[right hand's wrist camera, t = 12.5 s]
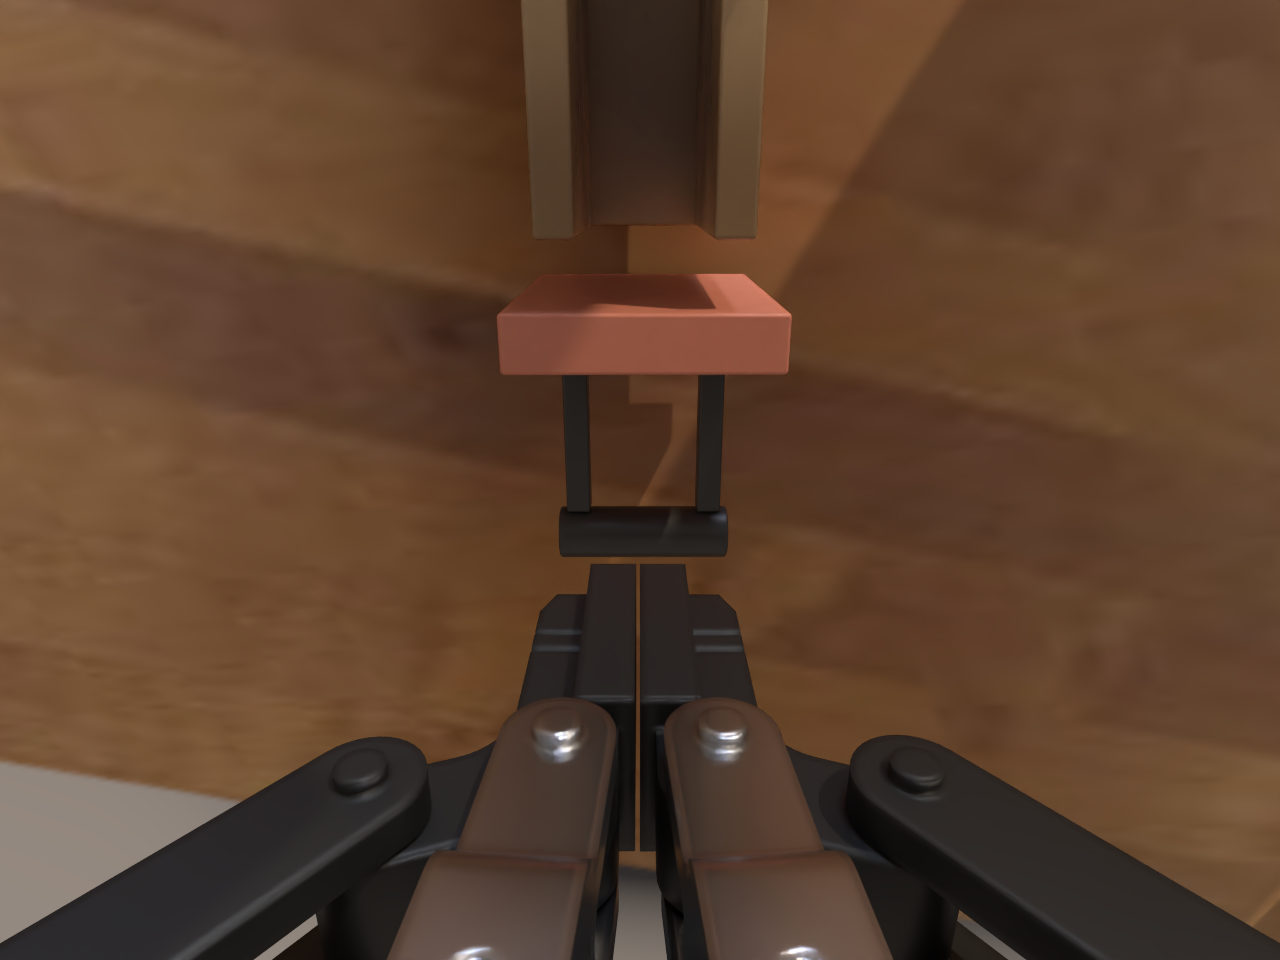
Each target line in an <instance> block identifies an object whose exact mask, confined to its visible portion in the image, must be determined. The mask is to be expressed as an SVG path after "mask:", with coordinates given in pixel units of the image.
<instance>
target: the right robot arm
mask: <svg viewBox="0 0 1280 960" xmlns="http://www.w3.org/2000/svg"><path fill="white" fill-rule="evenodd" d="M635 775H636V564H591V567H590V575H589V583H588V591H587V594H557V595H556V596H555V597H554V598H553V599H552V600H551V601H550V602H549V603H548V604H547V605H546V606H545V607H544V608H543V609H542V610H541V611H540V614H539V618H538V623H537V627H536V634H535V635H534V640H533V644H532V652H530V657H529V661H528V665H527V669H526V674H525V678H524V682H523V687H522V691H521V695H520V699H519V704H518V708H517V711H516V712H514V713H513V714H512V715H511V716H510V717H509V718H508V719H507V720H506V721H505V723H504V724H503V726H502V728H501V730H500V732H499V735H498V738H497V740H495V741H494V742H492V743H491V744H489V745H488V746H486V747H484V748H482V749H480V750H478V751H475V752H473V753H470V754H467V755H464V756H460V757H457V758H453V759H448V760H444V761H440V762H435V763H431V764H427V762H426V759H425V756H424V755H423V753H422V752H421V750H420V749H419V748H417V747H416V746H415V745H413V744H411V743H410V742H408V741H405V740H402V739H399V738H392V737H369V738H363V739H358V740H354V741H351V742H348V743H345V744H342V745H340V746H337V747H335V748H333V749H331V750H329V751H328V752H326V753H324V754H322V755H321V756H319V757H317V758H315V759H314V760H312V761H310V762H309V763H307V764H305V765H304V766H302V767H300V768H298V769H297V770H295V771H293V772H292V773H290V774H288V775H286V776H285V777H283V778H281V779H280V780H278V781H276V782H275V783H273V784H271V785H269V786H268V787H266V788H264V789H263V790H261V791H259V792H258V793H256V794H254V795H252V796H251V797H249V798H247V799H246V800H244V801H242V802H240V803H239V804H237V805H235V806H234V807H232V808H230V809H229V810H227V811H225V812H223V813H222V814H220V815H218V816H217V817H215V818H213V819H211V820H210V821H208V822H206V823H205V824H203V825H201V826H200V827H198V828H196V829H194V830H193V831H191V832H189V833H188V834H186V835H184V836H182V837H181V838H179V839H177V840H176V841H174V842H172V843H171V844H169V845H167V846H165V847H164V848H162V849H160V850H159V851H157V852H155V853H153V854H152V855H150V856H148V857H147V858H145V859H143V860H142V861H140V862H138V863H137V864H135V865H133V866H131V867H130V868H128V869H126V870H125V871H123V872H121V873H119V874H118V875H116V876H114V877H113V878H111V879H109V880H107V881H106V882H104V883H102V884H101V885H99V886H97V887H96V888H94V889H92V890H90V891H89V892H87V893H85V894H84V895H82V896H80V897H78V898H77V899H75V900H73V901H72V902H70V903H68V904H67V905H65V906H63V907H61V908H60V909H58V910H56V911H55V912H53V913H51V914H49V915H48V916H46V917H44V918H43V919H41V920H39V921H38V922H36V923H34V924H32V925H31V926H29V927H27V928H26V929H24V930H22V931H21V932H19V933H17V934H15V935H14V936H12V937H10V938H9V939H7V940H5V941H4V942H2V943H0V960H254V959H255V958H256V957H258V956H259V955H261V954H262V953H263V952H265V951H266V950H267V949H269V948H270V947H271V946H273V945H274V944H275V943H277V942H278V941H279V940H281V939H282V938H283V937H285V936H286V935H287V934H289V933H290V932H291V931H293V930H294V929H295V928H297V927H298V926H299V925H301V924H302V923H303V922H305V921H306V920H307V919H309V918H310V917H311V916H313V915H314V914H316V917H317V922H318V925H317V926H316V927H315V928H313V929H312V930H311V931H309V932H308V933H307V934H305V935H304V936H303V937H301V938H300V939H299V940H297V941H296V942H295V943H293V944H292V945H291V946H289V947H288V948H287V949H285V950H284V951H283V952H282V953H280V954H279V955H278V956H276V957H275V958H274V959H272V960H613V953H614V944H615V936H616V927H617V918H618V906H619V899H618V865H619V851H635ZM640 851H656V875H657V882H658V885H659V888H660V890H661V892H662V900H661V906H662V918H663V927H664V936H665V944H666V953H667V960H1008V959H1006V958H1005V957H1004V956H1002V955H1001V954H1000V953H998V952H997V951H996V950H994V949H993V948H992V947H990V946H989V945H988V944H987V943H985V942H984V941H983V940H981V939H980V938H979V937H977V936H976V935H975V934H973V933H972V932H971V931H969V930H968V929H967V928H965V927H964V926H963V925H962V924H960V923H959V922H958V921H957V918H958V913H959V910H960V911H962V912H963V913H964V914H966V915H967V916H968V917H970V918H971V919H973V920H974V921H975V922H977V923H978V924H979V925H981V926H982V927H983V928H985V929H986V930H987V931H989V932H990V933H991V934H993V935H994V936H995V937H997V938H998V939H999V940H1001V941H1002V942H1003V943H1005V944H1006V945H1007V946H1009V947H1010V948H1011V949H1013V950H1014V951H1015V952H1017V953H1018V954H1019V955H1021V956H1022V957H1024V958H1025V959H1026V960H1280V943H1278V942H1277V941H1275V940H1273V939H1271V938H1270V937H1268V936H1266V935H1265V934H1263V933H1261V932H1259V931H1258V930H1256V929H1254V928H1253V927H1251V926H1249V925H1248V924H1246V923H1244V922H1242V921H1241V920H1239V919H1237V918H1236V917H1234V916H1232V915H1230V914H1229V913H1227V912H1225V911H1224V910H1222V909H1220V908H1219V907H1217V906H1215V905H1213V904H1212V903H1210V902H1208V901H1207V900H1205V899H1203V898H1201V897H1200V896H1198V895H1196V894H1195V893H1193V892H1191V891H1190V890H1188V889H1186V888H1184V887H1183V886H1181V885H1179V884H1178V883H1176V882H1174V881H1173V880H1171V879H1169V878H1167V877H1166V876H1164V875H1162V874H1161V873H1159V872H1157V871H1155V870H1154V869H1152V868H1150V867H1149V866H1147V865H1145V864H1144V863H1142V862H1140V861H1138V860H1137V859H1135V858H1133V857H1132V856H1130V855H1128V854H1126V853H1125V852H1123V851H1121V850H1120V849H1118V848H1116V847H1115V846H1113V845H1111V844H1109V843H1108V842H1106V841H1104V840H1103V839H1101V838H1099V837H1097V836H1096V835H1094V834H1092V833H1091V832H1089V831H1087V830H1086V829H1084V828H1082V827H1080V826H1079V825H1077V824H1075V823H1074V822H1072V821H1070V820H1069V819H1067V818H1065V817H1063V816H1062V815H1060V814H1058V813H1057V812H1055V811H1053V810H1051V809H1050V808H1048V807H1046V806H1045V805H1043V804H1041V803H1040V802H1038V801H1036V800H1034V799H1033V798H1031V797H1029V796H1028V795H1026V794H1024V793H1022V792H1021V791H1019V790H1017V789H1016V788H1014V787H1012V786H1011V785H1009V784H1007V783H1005V782H1004V781H1002V780H1000V779H999V778H997V777H995V776H993V775H992V774H990V773H988V772H987V771H985V770H983V769H982V768H980V767H978V766H976V765H975V764H973V763H971V762H970V761H968V760H966V759H965V758H963V757H961V756H959V755H958V754H956V753H954V752H953V751H951V750H949V749H947V748H945V747H943V746H941V745H939V744H937V743H934V742H931V741H929V740H925V739H922V738H918V737H912V736H905V735H887V736H881V737H876V738H873V739H870V740H868V741H866V742H864V743H863V744H861V745H860V746H859V747H858V748H857V749H856V750H855V752H854V753H853V755H852V758H851V761H850V765H846V764H842V763H838V762H834V761H829V760H825V759H821V758H817V757H813V756H810V755H806V754H804V753H801V752H799V751H796V750H794V749H792V748H790V747H788V746H786V745H785V743H784V740H783V738H782V735H781V732H780V730H779V728H778V726H777V724H776V723H775V721H774V720H773V719H772V718H771V717H770V716H769V715H768V714H767V713H766V712H764V711H763V710H761V709H760V708H758V707H757V704H756V699H755V695H754V690H753V686H752V682H751V677H750V673H749V668H748V664H747V659H746V655H745V652H744V646H743V642H742V637H741V635H740V628H739V624H738V619H737V615H736V611H735V610H734V609H733V608H732V607H731V606H730V605H729V604H728V603H727V602H726V601H725V600H724V599H723V598H722V597H721V596H720V595H689V593H688V584H687V576H686V567H685V564H640Z"/></svg>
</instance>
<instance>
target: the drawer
mask: <svg viewBox="0 0 1280 960" xmlns="http://www.w3.org/2000/svg"><path fill="white" fill-rule="evenodd" d="M521 16H522V37H523V58H524V79H525V100H526V120H527V141H528V162H529V183H530V204H531V225H532V236H533V238H534V239H536V240H571V239H573V238H575V237H576V236H577V235H578V234H580V233H581V232H582V231H583V230H585V229H586V228H587V227H588V226H590V225H697V226H698V227H699V228H701V229H702V230H704V231H705V232H707V233H708V234H709V235H711V236H712V237H714V238H715V239H717V240H753V239H755V238H756V236H757V218H758V198H759V178H760V158H761V138H762V118H763V98H764V78H765V58H766V38H767V18H768V0H521ZM791 322H792V316H791V314H790V313H789V312H788V311H787V310H785V309H784V308H783V307H782V306H781V305H780V304H778V303H777V302H776V301H775V300H774V299H773V298H771V297H770V296H769V295H768V294H767V293H765V292H764V291H763V290H762V289H761V288H760V287H758V286H757V285H756V284H755V283H754V282H753V281H751V280H750V279H749V278H748V277H747V276H746V275H744V274H542V275H541V276H540V277H538V278H537V279H536V280H535V281H534V282H533V283H532V284H531V285H530V286H529V287H527V288H526V289H525V290H524V291H523V292H522V293H521V294H520V295H519V296H517V297H516V298H515V299H514V300H513V301H512V302H511V303H510V304H509V305H508V306H506V307H505V308H504V309H503V310H502V311H501V312H500V313H499V314H498V315H497V330H498V345H499V360H500V372H501V374H503V375H562V384H563V411H564V438H565V465H566V492H567V506H563V507H561V510H560V516H559V549H560V554H561V556H562V557H724V556H726V553H727V547H728V518H727V511H726V508H725V507H724V506H720V486H721V460H722V434H723V408H724V382H725V375H785V374H787V372H788V367H789V352H790V337H791ZM589 375H698V407H697V445H696V483H695V505H696V506H591V504H592V496H591V456H590V415H589Z"/></svg>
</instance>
